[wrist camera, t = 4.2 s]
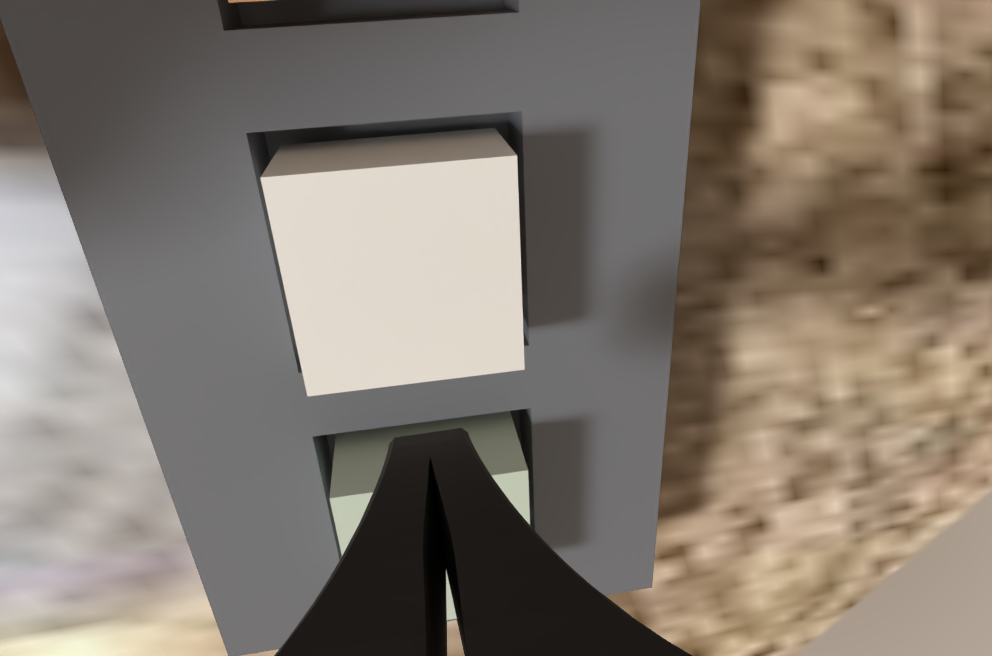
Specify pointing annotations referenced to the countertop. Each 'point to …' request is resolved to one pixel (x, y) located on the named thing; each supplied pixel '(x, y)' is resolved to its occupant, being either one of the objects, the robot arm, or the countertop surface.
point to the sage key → (367, 449)
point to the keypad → (257, 277)
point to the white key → (399, 257)
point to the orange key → (244, 0)
